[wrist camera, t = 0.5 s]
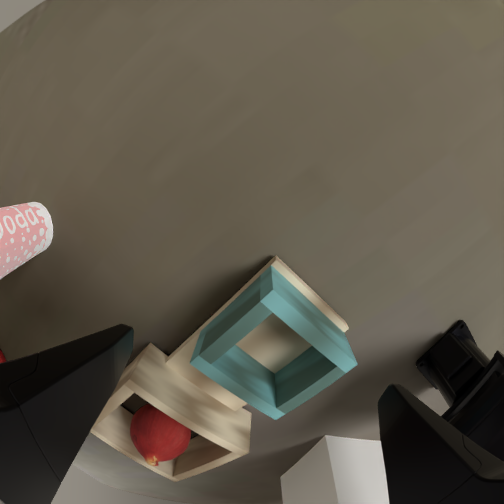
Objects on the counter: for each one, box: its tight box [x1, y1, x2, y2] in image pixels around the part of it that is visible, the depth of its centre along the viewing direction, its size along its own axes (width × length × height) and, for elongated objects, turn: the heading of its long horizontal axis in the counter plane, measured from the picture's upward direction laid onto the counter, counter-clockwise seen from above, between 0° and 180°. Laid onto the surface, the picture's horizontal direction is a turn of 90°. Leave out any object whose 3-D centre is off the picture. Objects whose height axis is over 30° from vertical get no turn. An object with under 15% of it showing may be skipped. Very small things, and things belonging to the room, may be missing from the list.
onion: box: [130, 404, 191, 466], centre depth 22 cm, size 6×6×8 cm
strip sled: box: [90, 255, 357, 482], centre depth 21 cm, size 12×25×5 cm, turn 136°
